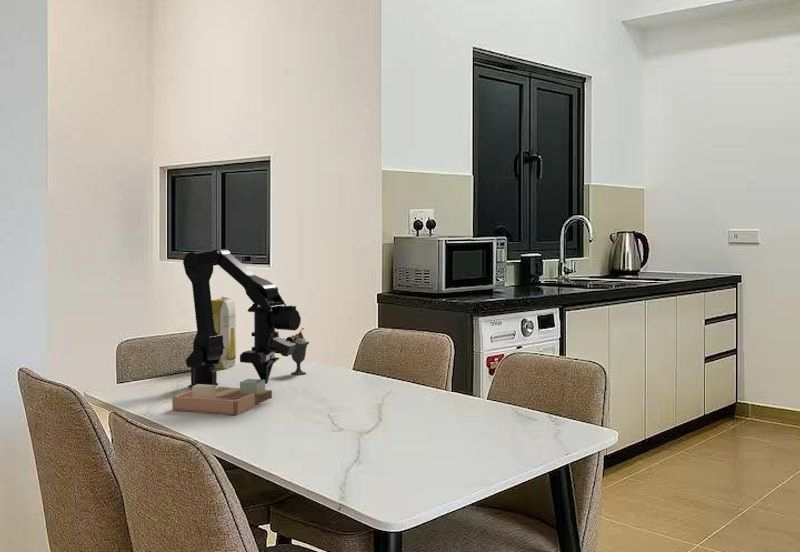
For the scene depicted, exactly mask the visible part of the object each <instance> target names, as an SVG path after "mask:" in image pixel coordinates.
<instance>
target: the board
mask: <svg viewBox="0 0 800 552" xmlns="http://www.w3.org/2000/svg"><path fill="white" fill-rule="evenodd" d="M247 395H249V394H246V393H240V387H227V386H219V387H216V397H218V398H233V399H240V398H242V397H245V396H247ZM272 395H273V390H272V389H265V391H263V392H261V393H259V394H255V406H257V405H258V404H260V403H263V402H265V401H268V400H269V399H271V398H273V396H272Z"/></svg>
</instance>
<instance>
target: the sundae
mask: <svg viewBox="0 0 800 552" xmlns="http://www.w3.org/2000/svg"><path fill="white" fill-rule="evenodd" d="M304 329H305V328H304V327H302V328H301V329H300V331H299V332H298V333H296V334H294V335H292V336H291V337H293V338H295V343H296V348H295V349H294V350H293V353H292V355H291V359H292V361H294V363H296V370H295V371H293V372H290V374H291V375H292V376H304V375H306V374H307V372H305V371H303V370H302V369H301V363H302V362H304V360H305V359H306V352H307V348H308V345H309V344H310V342H309V341H306V339H305V337H304V334H303V333H302V331H303V330H304Z"/></svg>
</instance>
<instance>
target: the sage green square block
mask: <svg viewBox="0 0 800 552" xmlns="http://www.w3.org/2000/svg"><path fill="white" fill-rule="evenodd" d="M239 388H240V393H246V394H252V393H253V394H259V393H261V392H263V391H265V390H266V384H265V380H261V379H260V378H259V379H257V378H247V379H243V380H242V381H240V382H239Z"/></svg>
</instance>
